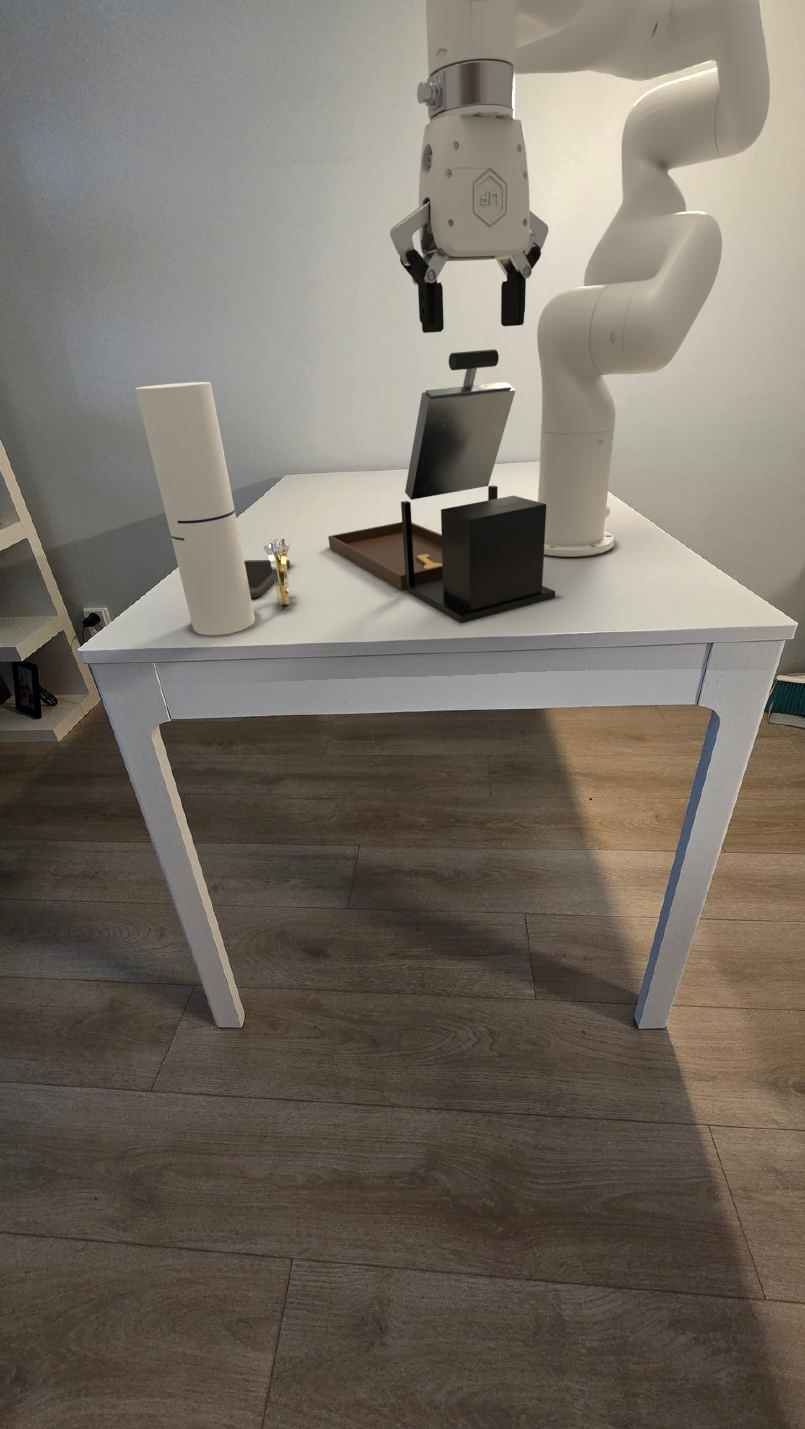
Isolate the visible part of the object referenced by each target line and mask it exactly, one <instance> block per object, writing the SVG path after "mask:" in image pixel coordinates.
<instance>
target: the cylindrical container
mask: <svg viewBox="0 0 805 1429" xmlns="http://www.w3.org/2000/svg"><path fill="white" fill-rule="evenodd" d="M135 394H136V397H137V401H138V406H139V409H140V410H139V411H140V414H141V419H142V422H143V426H144V430H145V431H144V432H145V434H146V439H147V443H148V447H149V451H150V455H151V459H152V463H153V468H154V471H155V477H156V480H157V484H158V488H159V492H160V496H161V502H162V504H163V509H164V514H165V517H166V521H167V526H168V529H169V533H170V538H171V542H172V546H173V551H174V555H175V559H176V562H177V568H178V572H179V576H180V579H181V584H182V588H183V591H184V596H185V600H186V604H187V609H188V613H189V617H190V621H191V625H192V630H193V631H194V632H195V633H197V634H198V635H203V636H224V635H230V634H235V633H238V632H240V631H243V630H246V629H248V628H249V627H251V626H252V625H253V624H255V621H256V617H255V612H254V606H253V601H252V598H251V595H250V590H249V584H248V579H247V573H246V568H245V563H244V561H245V558H244V553H243V547H242V543H241V537H240V531H239V526H238V521H237V515H236V511H235V505H234V500H233V499H234V498H233V494H232V488H231V483H230V478H229V473H228V466H227V461H226V456H225V451H224V446H223V439H222V435H221V430H220V429H221V428H220V424H219V419H218V413H217V409H216V404H215V398H214V393H213V388H212V382H211V381H193V382H192V381H191V382H179V383H178V382H176V383H166V384H155V385H145V386H139V387H135Z"/></svg>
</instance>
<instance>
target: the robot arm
mask: <svg viewBox="0 0 805 1429" xmlns="http://www.w3.org/2000/svg"><path fill="white" fill-rule="evenodd" d="M425 14H426V15H425V17H426V41H427V43H426V44H427V64H428V65H427V68H428V77H427V81H420V82H419V84H418V86H417V89H416V90H417V91H416V98H417V102H418V103H419V104H422V105H425V106H426V107H427V116H428V117H427V118H428V119H429V123H428V124H426V125H425V126H424V131H423V136H422V137H423V139H422V146H421V155H420V166H419V180H418V183H419V184H418V208H416V209H415V210H414V211H412V212H411V213H410V214H408V215H407V216H406V217H405V218H403V219H402V220H400V221H399V222H398V223H396V224H395V225H394V226H393V227H392V228H391V229H390V231H389V235H390V239H391V241H392V243H393V246H394V248H395V250H396V252H397V255H398V256H399V262H400V263H401V266H402V267H403V268H404V269H405V271H406V272H407V273H408V275H410V277H411V280H412V283H413V285H415V286H416V287H417V296H418V298H417V299H418V317H419V322H420V323H421V331H422V333H423V334H429V333H430V334H431V333H441V332H443V330H444V329H445V328H444V327H445V326H444V325H445V323H444V321H445V320H444V290H443V288H444V287H443V285H442V282H438V277H439V276H440V273H441V272H442V270H443V269H444V267H445V265H446V263H447V262H463V261H465V262H466V261H467V262H468V261H489V260H496V262H497V263H498V265H499V268H500V269H501V271H502V273H503V275H504V276H505V277H506V281H502V283H501V286H500V290H501V292H500V324H501V326H502V327H515V326H517V327H518V326H523V325H524V323H525V312H526V295H527V294H526V293H527V291H526V289H527V288H526V286H527V279H529V278H531V276H532V273H533V268H534V267H535V266H536V264H538V261H539V260H540V258H541V255H542V250H543V247H544V245H545V242H546V239H547V237H548V235H549V226H548V224H547V223H546V222H545V221H544V220H542V219H541V218H539V216H537V215H536V214H535V213H533V212H532V210H530V207H531V205H530V180H529V179H530V178H529V164H528V153H527V145H526V139H525V137H526V136H525V131H524V126H523V125H524V124H523V121H522V120H521V119H515V104H516V102H515V99H516V98H515V95H516V75H528V74H530V75H531V74H568V73H569V74H571V73H578V72H586V71H587V72H588V71H589V72H593V73H594V72H595V73H599V74H606V75H610V76H614V77H618V78H621V79H626V80H629V81H635V82H643V81H644V82H645V81H650V80H654V79H659V78H662V77H665V76H668V75H671V74H674V73H679V72H681V71H684V70H688V69H691V68H695V67H697V66H700V65H704V64H707V63H711V62H713V63H714V64H715V66H716V68H712V69H709V70H705V71H702V72H698V73H696V74H692V75H688V76H686V77H682V78H679V79H675V80H672V81H670V82H666V83H663V84H661V85H659V86H656V87H654V88H653V89H651V90H649V91H647V92H646V93H644V95H642V96H641V97H640V98H639V99H637V101H636V102H635V103H634V104H633V106H632V107H631V109H630V111H629V112H628V115H627V117H626V119H625V123H624V126H623V130H622V136H621V187H622V201H621V204H620V206H619V208H618V210H617V212H616V214H615V215H614V216H613V218H612V220H611V222H610V223H609V225H608V226H607V228H606V229H605V231H604V233H603V234H602V237H601V238H600V240H599V241H598V243H597V245H596V246H595V248H594V250H593V252H592V254H591V256H590V258H589V260H588V262H587V265H586V268H585V271H584V276H583V286H579V287H573V288H569V289H566V290H564V291H561V292H560V293H557V295H555V296H554V297H552V298H551V299H550V300H549V301H548V302H547V304H546V305H545V306H544V308H543V310H542V311H541V314H540V316H539V319H538V324H537V331H536V332H537V333H536V336H537V337H536V342H537V351H538V358H539V360H538V361H539V367H540V368H539V369H540V376H541V377H540V378H541V424H540V425H541V426H540V428H541V429H540V442H539V443H540V444H539V445H540V447H539V467H538V486H537V488H538V489H537V502H540V503H544V504H546V524H545V543H544V556H545V555H546V556H554V557H564V558H565V557H566V558H569V557H570V558H571V557H572V558H574V557H575V558H576V557H586V556H594V555H599V554H602V553H606V552H607V551H609V550H611V549H612V548H614V545H615V536H614V534H612V533H611V532H610V531H607V530H605V525H606V524H605V523H606V518H608V517H609V516H610V513H611V509H610V507H609V506H608V494H609V483H610V474H611V464H612V454H613V445H614V434H615V428H616V427H615V425H616V407H615V406H616V405H615V402H614V399H613V396H612V393H611V391H610V389H609V387H608V385H607V383H606V381H605V379H604V377H603V376H606V375H640V374H641V375H642V374H652V373H655V372H658V371H660V370H662V369H664V368H665V367H666V366H667V365H669V363H670V362H671V361H672V360H673V359H674V357H675V356H676V354H677V352H678V351H679V350H680V347H681V346H682V345H683V342H684V341H685V339H686V337H687V335H688V333H689V331H690V330H691V328H692V326H693V325H694V323H695V321H696V320H697V317H698V315H699V314H700V312H701V310H702V308H703V307H704V305H705V304H706V301H707V299H708V298H709V296H710V294H711V291H712V289H713V287H714V284H715V282H716V279H717V276H718V272H719V269H720V263H721V260H722V250H723V237H722V231H721V228H720V226H719V223H718V221H717V220H716V219H715V217H713V215H711V214H710V213H708V212H704V211H697V210H694V211H693V210H692V211H687V204H686V200H685V197H684V195H683V193H682V191H681V189H680V187H679V185H678V184H677V183H676V181H675V180H674V179H673V178H672V176H670V175H669V171H670V170H673V169H674V170H675V169H679V168H683V167H687V166H692V165H696V164H701V163H705V162H706V163H707V162H710V161H715V160H719V159H724V158H728V157H731V156H736V155H739V154H740V153H743V152H745V151H746V150H747V149H749V148H750V147H751V146H752V145H753V144H754V143H755V142H756V141H757V140H758V137H759V136H760V135H761V132H762V131H763V129H764V126H765V123H766V121H767V117H768V114H769V108H770V107H769V106H770V100H771V99H770V98H771V82H770V81H771V80H770V71H769V62H768V61H769V60H768V55H767V53H768V52H767V47H766V38H765V31H764V29H765V28H764V22H763V14H762V7H761V1H760V0H425ZM417 231H418V232H419V234H418V235H419V243H420V244H419V245H420V251H421V253H422V255H421V254H420V253H419V251H418V250H417V249H415V245H414V241H413V235H414V234H415V233H416V232H417Z"/></svg>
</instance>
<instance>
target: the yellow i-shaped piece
mask: <svg viewBox="0 0 805 1429" xmlns="http://www.w3.org/2000/svg"><path fill="white" fill-rule="evenodd" d="M416 559H418V560H419V561H420V562H422V563H423V564H424V569H427V568H432V567H436V566H441V565H442V564H441V563H433V562H432V561H430V560H429V559H430V556H429V555H428V554H425V555H419V556H416Z"/></svg>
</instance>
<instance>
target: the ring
mask: <svg viewBox="0 0 805 1429" xmlns="http://www.w3.org/2000/svg"><path fill="white" fill-rule="evenodd" d="M268 542H269V544H266V545H263V546H262V548H263V549H264V551H265V553H266V554H267V556H268V560H270V563H271V567H272V572H273V577H274V583H273V584H274V588H275V592H276V596H277V600H278V603H279V605H281V606H289V605H290V585H289V584H290V583H289V575H288V574H289V572H288V568H287V565H286V560H287V556H288V551H289V549H290V546H291V545H290V543H285V538H280V541H279V542H278V538H274V539H273V540H272V539H271V540H269V541H268ZM279 557H280V558H279ZM280 560H281V563H280ZM278 572H279V573H278ZM279 576H280V577H279Z"/></svg>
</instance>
